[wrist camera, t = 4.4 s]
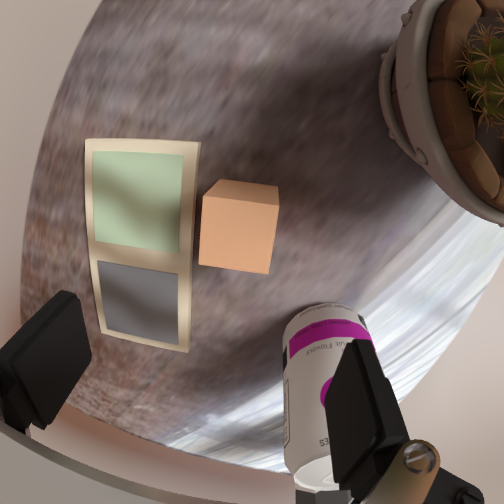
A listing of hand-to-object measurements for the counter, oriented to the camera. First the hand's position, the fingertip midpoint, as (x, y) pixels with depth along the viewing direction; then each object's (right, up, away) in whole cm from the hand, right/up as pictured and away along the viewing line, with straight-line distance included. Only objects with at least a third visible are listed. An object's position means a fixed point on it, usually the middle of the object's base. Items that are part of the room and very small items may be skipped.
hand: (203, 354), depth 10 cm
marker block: (+1, +7, +14) cm, 16 cm away
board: (-9, +3, +16) cm, 19 cm away
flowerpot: (+16, +16, +10) cm, 25 cm away
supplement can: (+9, -5, +19) cm, 21 cm away
